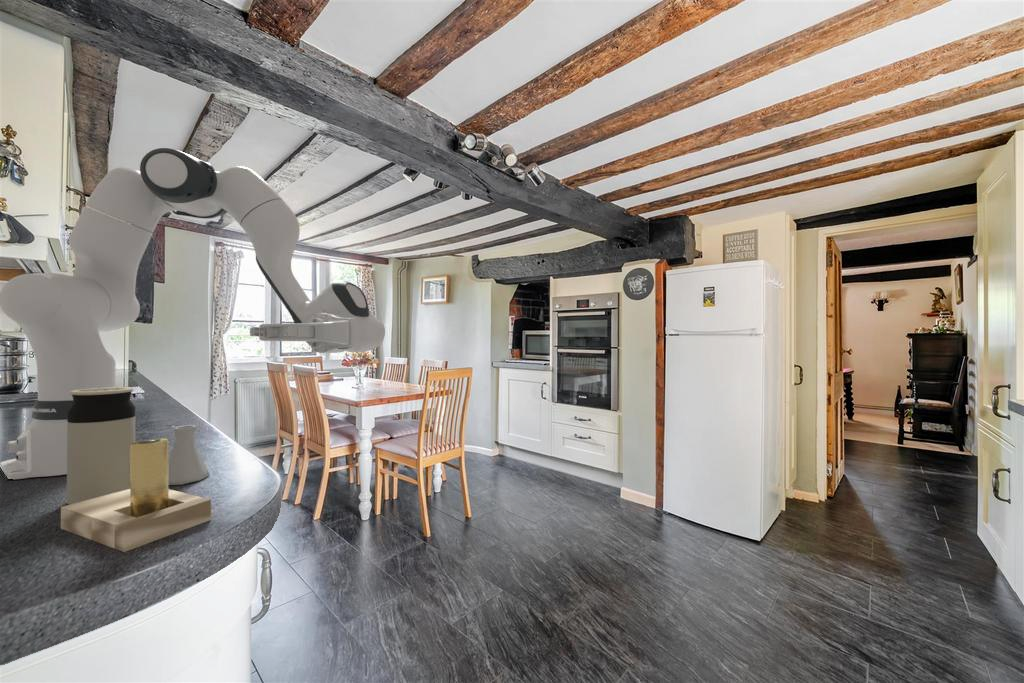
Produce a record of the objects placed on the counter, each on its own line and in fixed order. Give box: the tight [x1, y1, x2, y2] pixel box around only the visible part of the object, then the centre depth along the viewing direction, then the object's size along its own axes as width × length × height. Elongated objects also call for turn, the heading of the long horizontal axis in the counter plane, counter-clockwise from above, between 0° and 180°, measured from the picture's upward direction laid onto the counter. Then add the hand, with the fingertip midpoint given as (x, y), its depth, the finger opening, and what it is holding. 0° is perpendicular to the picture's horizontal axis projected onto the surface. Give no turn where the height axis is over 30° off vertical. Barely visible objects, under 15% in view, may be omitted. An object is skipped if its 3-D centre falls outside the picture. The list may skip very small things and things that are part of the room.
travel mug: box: [66, 386, 136, 505], centre depth 68 cm, size 8×8×18 cm
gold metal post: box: [130, 437, 170, 518], centre depth 57 cm, size 4×4×12 cm
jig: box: [60, 488, 212, 553], centre depth 58 cm, size 16×10×3 cm, turn 67°
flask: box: [168, 424, 211, 486], centre depth 77 cm, size 7×7×10 cm
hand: (268, 331), depth 78 cm, fingers open, 8 cm apart
